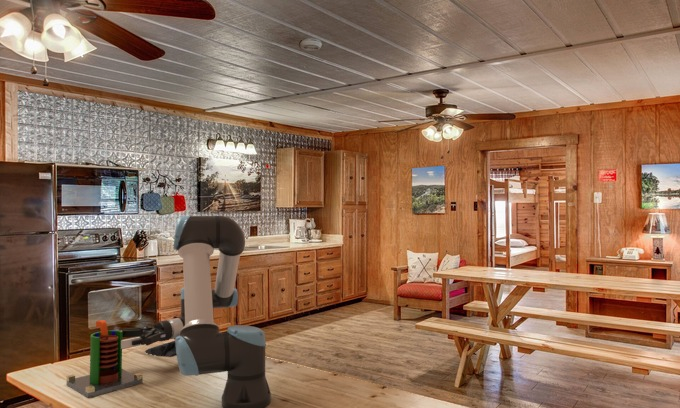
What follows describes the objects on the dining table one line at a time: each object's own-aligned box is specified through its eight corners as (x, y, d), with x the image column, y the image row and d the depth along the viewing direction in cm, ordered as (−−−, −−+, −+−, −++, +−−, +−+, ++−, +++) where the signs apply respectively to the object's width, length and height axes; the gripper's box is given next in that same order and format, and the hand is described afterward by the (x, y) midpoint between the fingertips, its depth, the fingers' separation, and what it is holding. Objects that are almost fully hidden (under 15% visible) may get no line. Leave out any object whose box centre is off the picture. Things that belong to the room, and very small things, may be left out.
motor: (105, 385, 161) (106, 325, 162) (82, 383, 163) (83, 324, 163) (125, 375, 171) (125, 318, 171) (103, 373, 173) (103, 317, 173)
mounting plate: (142, 382, 168) (142, 374, 168) (88, 398, 154) (88, 388, 154) (118, 371, 180) (119, 363, 180) (66, 384, 166) (66, 376, 166)
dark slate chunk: (204, 345, 217) (204, 334, 217) (169, 359, 197) (169, 347, 197) (177, 341, 223) (177, 331, 223) (140, 354, 202) (140, 343, 203)
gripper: (186, 345, 177) (129, 359, 161) (151, 334, 194) (97, 345, 177) (186, 325, 177) (129, 336, 161) (151, 315, 194) (97, 325, 177)
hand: (112, 341), depth 169 cm, fingers open, 13 cm apart
